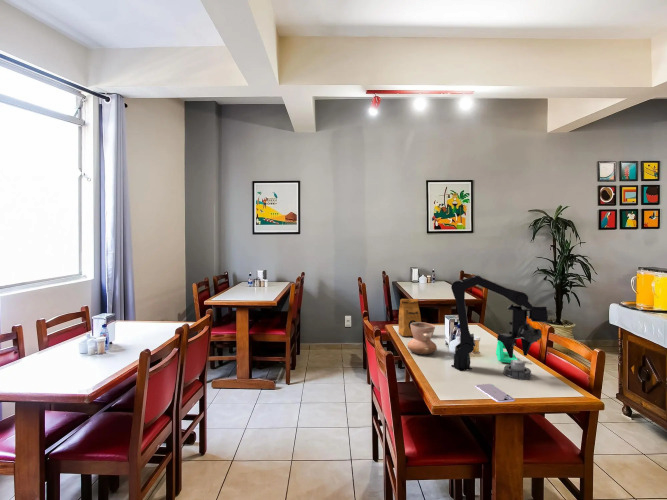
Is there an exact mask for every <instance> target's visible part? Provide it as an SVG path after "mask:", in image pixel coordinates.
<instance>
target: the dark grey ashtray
mask: <svg viewBox="0 0 667 500" xmlns="http://www.w3.org/2000/svg"><path fill="white" fill-rule="evenodd" d="M502 371H503V372H502V373H503V375H504V376H506V377H507V378H511V379H515V380H519V381H526V380H527V381H528V380H531V379H532V378H533V375H532V370H531V369H530V368H528V367H526V366H525V372H517V371H513V370H511V364H507V365H505V366H504V370H502Z"/></svg>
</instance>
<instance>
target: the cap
mask: <svg viewBox="0 0 667 500" xmlns="http://www.w3.org/2000/svg"><path fill="white" fill-rule="evenodd" d="M510 365H511V370H513V371H517V372H525V367H526V363H525V361H523V360H519V359H518V360H511V363H510Z"/></svg>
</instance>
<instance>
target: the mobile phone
mask: <svg viewBox="0 0 667 500" xmlns="http://www.w3.org/2000/svg"><path fill="white" fill-rule="evenodd" d="M474 387H475V388H476V389H477V390H479V391H480V392H482V394H485V395H486V396H488V397H489V398H490V399H491V400H493V401H495V402H497V403H509V402H511V403H512V402H515V401H516V400H515V398H513V397H512V396H511V395H509V394H507V393H506V392H505V391H503V390H501V389H500V388H498V387H497V386H495V385H494V384H491V383H485V384H484V383H482V384H475V386H474Z"/></svg>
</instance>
